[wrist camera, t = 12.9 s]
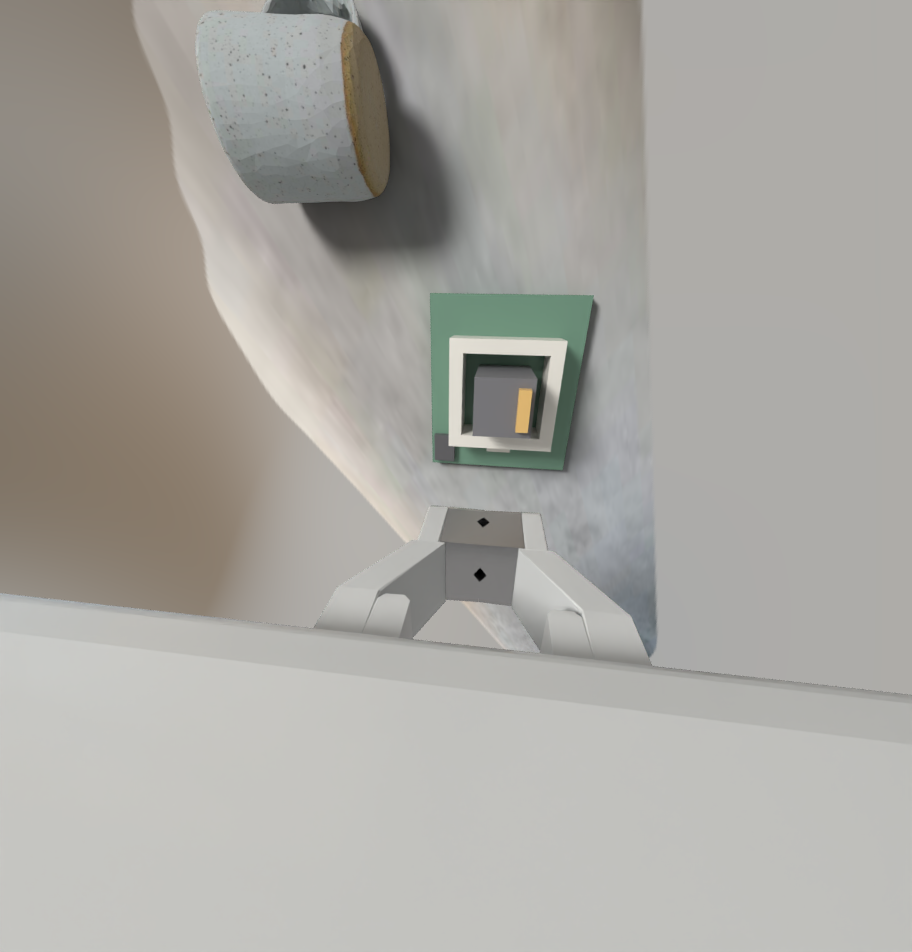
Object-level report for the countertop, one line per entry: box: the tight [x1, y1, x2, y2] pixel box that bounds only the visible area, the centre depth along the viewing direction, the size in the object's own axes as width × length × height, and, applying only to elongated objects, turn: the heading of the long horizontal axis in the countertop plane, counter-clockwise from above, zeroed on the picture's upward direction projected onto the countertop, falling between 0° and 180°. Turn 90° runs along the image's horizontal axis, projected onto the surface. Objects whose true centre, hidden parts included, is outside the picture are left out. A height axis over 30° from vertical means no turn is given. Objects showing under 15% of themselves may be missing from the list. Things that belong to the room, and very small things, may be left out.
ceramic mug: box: [195, 0, 390, 204], centre depth 19 cm, size 11×8×8 cm
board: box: [430, 293, 594, 470], centre depth 27 cm, size 14×12×4 cm
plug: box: [472, 364, 537, 439], centre depth 24 cm, size 4×4×7 cm
